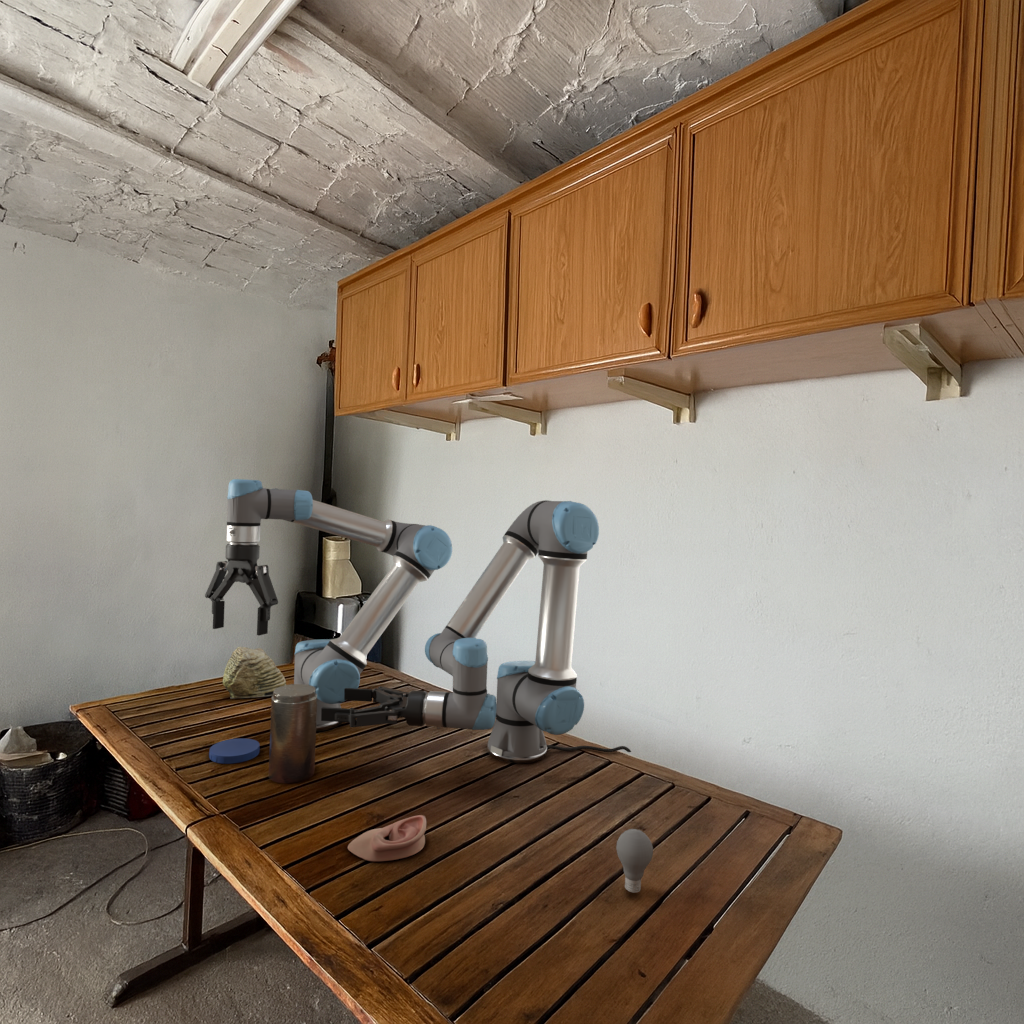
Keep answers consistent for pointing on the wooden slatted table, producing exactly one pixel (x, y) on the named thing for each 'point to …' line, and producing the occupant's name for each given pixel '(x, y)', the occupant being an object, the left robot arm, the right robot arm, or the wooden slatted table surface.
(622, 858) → the light bulb
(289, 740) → the jar
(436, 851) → the wooden slatted table surface
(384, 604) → the left robot arm
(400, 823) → the anatomical model
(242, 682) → the fossil
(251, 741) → the lid
